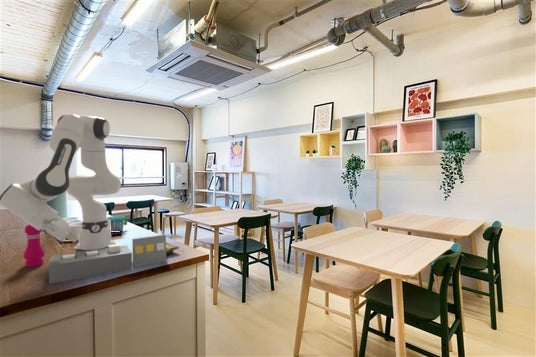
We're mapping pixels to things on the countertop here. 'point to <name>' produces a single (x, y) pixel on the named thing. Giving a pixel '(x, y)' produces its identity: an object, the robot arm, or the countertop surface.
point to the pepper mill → (33, 247)
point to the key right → (113, 248)
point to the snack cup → (117, 222)
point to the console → (88, 264)
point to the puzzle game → (170, 248)
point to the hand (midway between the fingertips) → (76, 240)
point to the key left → (68, 256)
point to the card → (149, 250)
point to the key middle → (92, 253)
